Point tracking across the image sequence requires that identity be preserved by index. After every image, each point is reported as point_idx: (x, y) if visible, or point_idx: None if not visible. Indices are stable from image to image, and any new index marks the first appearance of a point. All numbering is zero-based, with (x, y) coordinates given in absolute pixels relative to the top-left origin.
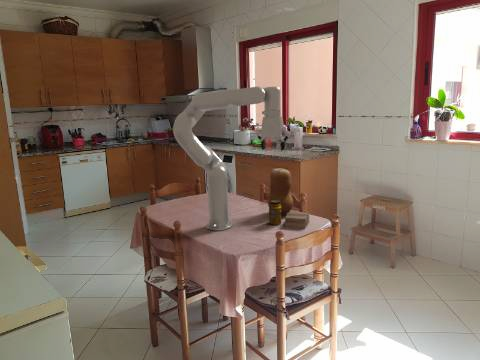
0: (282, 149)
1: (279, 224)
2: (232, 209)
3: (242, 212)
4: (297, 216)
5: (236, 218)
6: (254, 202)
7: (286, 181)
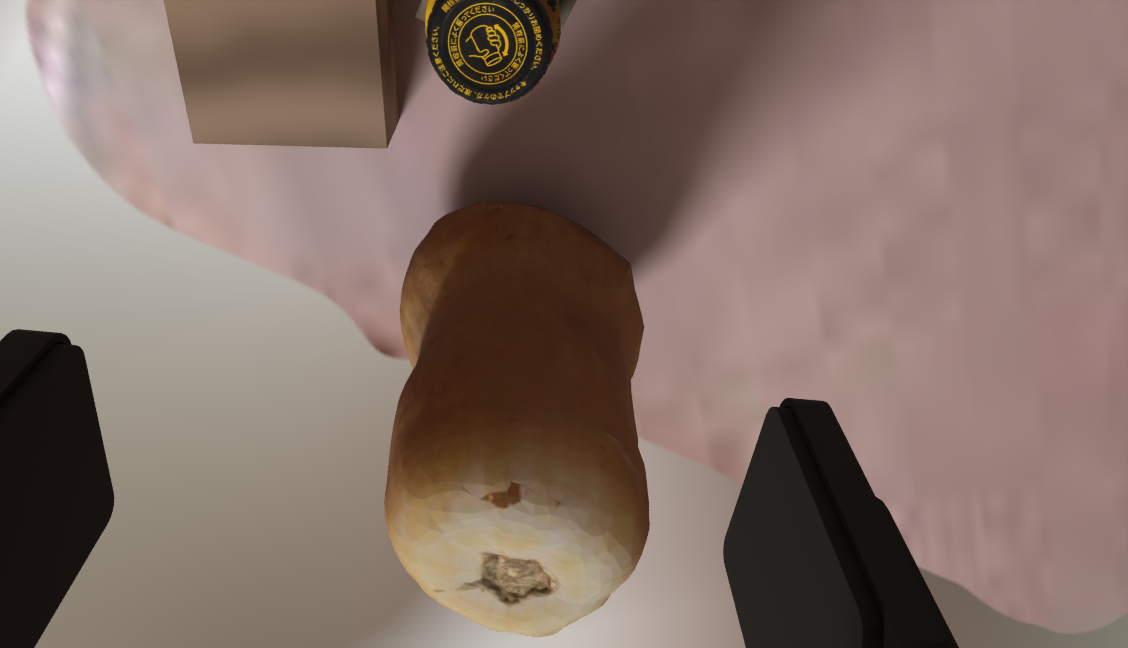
0: (9, 363)
1: None
2: (953, 285)
3: (856, 229)
4: (261, 6)
5: (890, 56)
6: None
7: (417, 400)
